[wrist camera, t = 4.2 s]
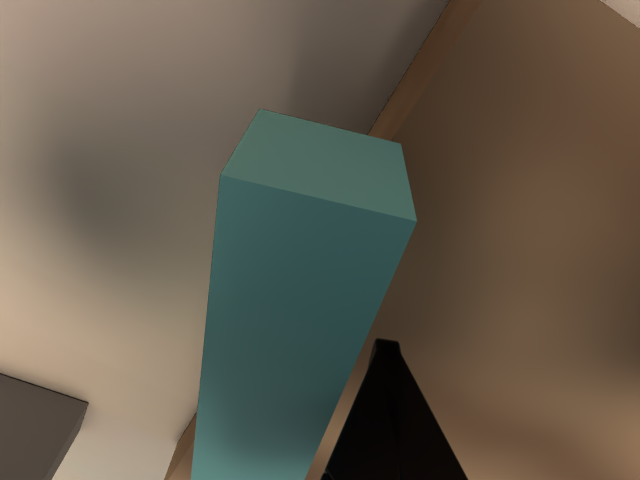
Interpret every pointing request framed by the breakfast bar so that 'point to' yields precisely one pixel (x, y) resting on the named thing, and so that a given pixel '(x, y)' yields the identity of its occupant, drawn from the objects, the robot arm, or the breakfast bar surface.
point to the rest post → (35, 429)
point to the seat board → (516, 242)
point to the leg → (293, 289)
